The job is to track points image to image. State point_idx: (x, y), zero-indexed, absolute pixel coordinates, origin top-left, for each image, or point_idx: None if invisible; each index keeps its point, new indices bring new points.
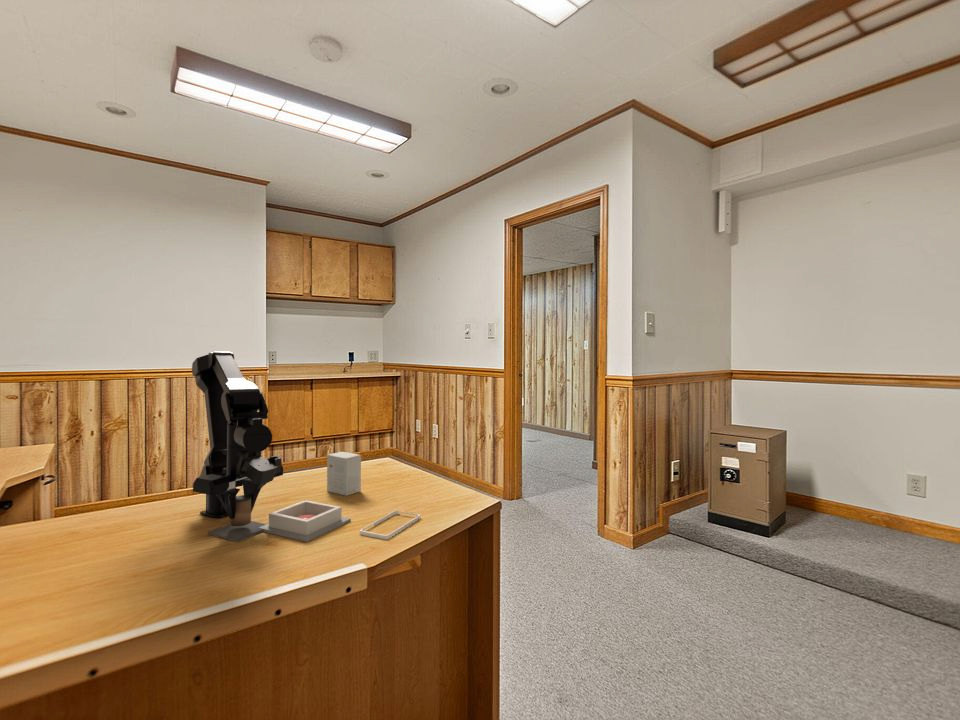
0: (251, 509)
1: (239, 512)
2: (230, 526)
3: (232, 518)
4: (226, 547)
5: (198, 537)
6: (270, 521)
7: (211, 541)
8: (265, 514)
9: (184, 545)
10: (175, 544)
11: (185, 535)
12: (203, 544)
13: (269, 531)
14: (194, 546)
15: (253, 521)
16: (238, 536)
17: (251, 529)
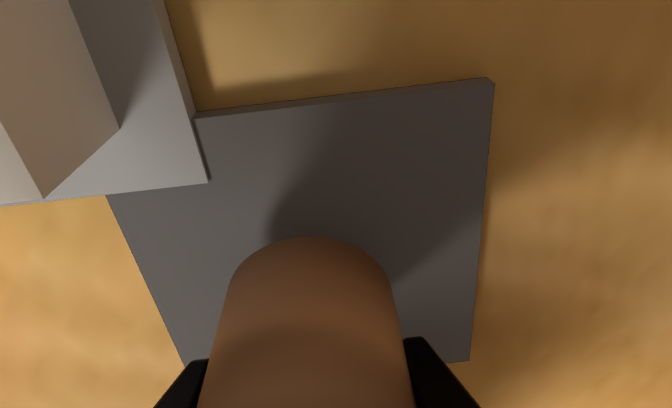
0: (187, 385)
1: (386, 364)
2: None
3: (425, 341)
4: (619, 42)
5: (522, 343)
6: (81, 126)
7: (548, 242)
8: (26, 379)
9: (654, 301)
10: (651, 342)
11: (524, 401)
12: (610, 236)
13: (164, 22)
14: (656, 248)
15: (165, 318)
16: (436, 140)
17: (266, 196)
